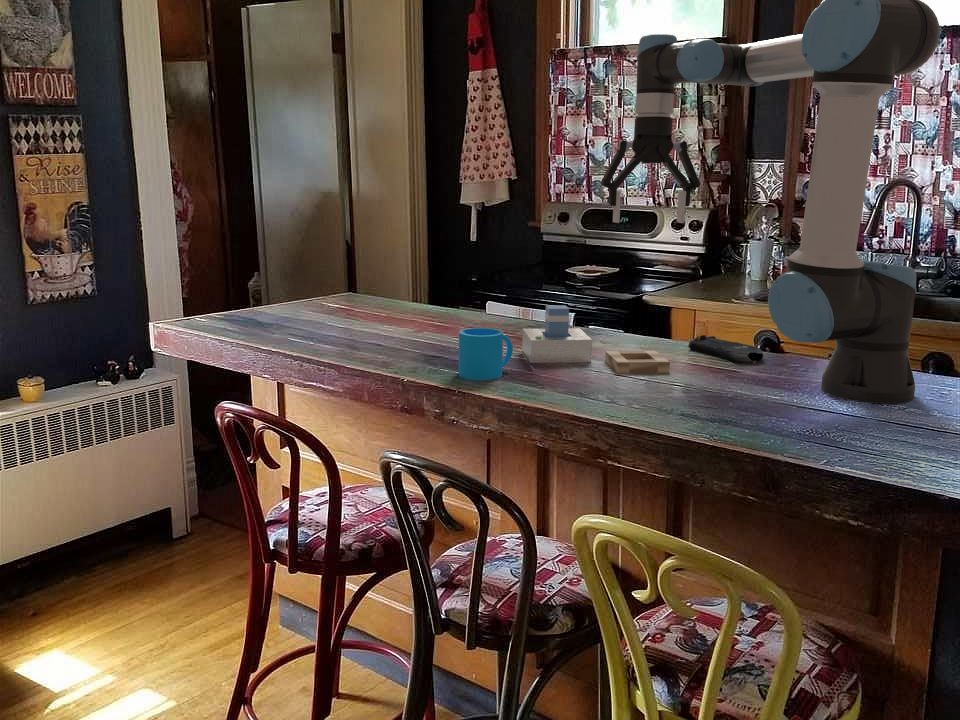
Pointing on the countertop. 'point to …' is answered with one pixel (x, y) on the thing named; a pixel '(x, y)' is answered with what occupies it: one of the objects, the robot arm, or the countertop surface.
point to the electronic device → (726, 349)
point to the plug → (556, 321)
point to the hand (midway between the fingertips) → (648, 222)
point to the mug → (482, 353)
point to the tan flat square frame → (637, 362)
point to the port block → (556, 347)
